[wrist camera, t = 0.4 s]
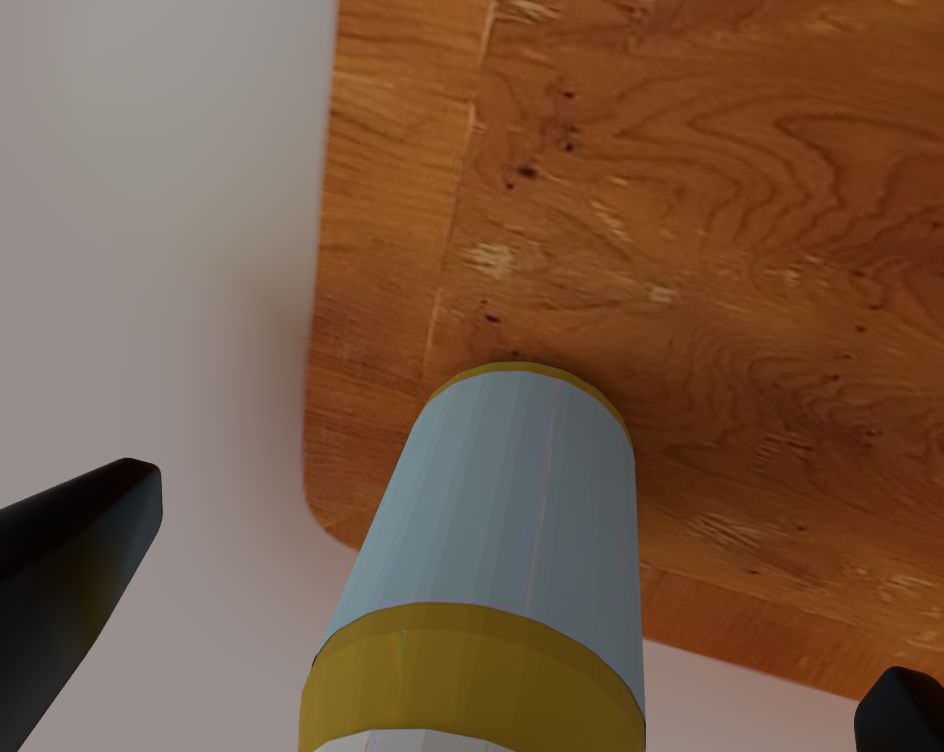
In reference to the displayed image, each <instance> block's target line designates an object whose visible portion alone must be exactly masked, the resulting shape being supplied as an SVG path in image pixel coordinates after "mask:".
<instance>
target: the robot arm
mask: <svg viewBox="0 0 944 752" xmlns="http://www.w3.org/2000/svg"><path fill="white" fill-rule="evenodd" d="M162 516H163V507H162V483H161V472H160V470H159V468H158V467H157V466H156V465H154V464H152V463H148V462H144V461H141V460H137V459H133V458H122V459H119V460H116V461H114V462H112V463H109V464H107V465H104V466H102V467H100V468H97V469H95V470H92V471H90V472H88V473H85V474H83V475H81V476H78V477H76V478H74V479H71V480H69V481H67V482H64V483H62V484H59V485H57V486H55V487H52V488H50V489H48V490H45V491H43V492H40V493H38V494H35V495H33V496H31V497H29V498H26V499H24V500H22V501H19V502H17V503H14V504H12V505H9V506H7V507H5V508H2V509H0V752H17V751H18V750H19V749H20V747H21V746H22V744H23V743H24V742H25V740H26V739H27V737H28V736H29V734H30V733H31V732H32V730H33V729H34V728H35V726H36V725H37V723H38V722H39V721H40V719H41V718H42V716H43V715H44V714H45V712H46V711H47V709H48V708H49V707H50V705H51V704H52V702H53V701H54V700H55V698H56V697H57V695H58V694H59V693H60V691H61V690H62V688H63V687H64V686H65V684H66V683H67V681H68V680H69V679H70V677H71V676H72V674H73V673H74V671H75V670H76V669H77V667H78V666H79V664H80V663H81V662H82V660H83V659H84V658H85V656H86V655H87V653H88V651H89V650H90V648H91V647H92V646H93V644H94V643H95V641H96V640H97V638H98V636H99V635H100V633H101V631H102V629H103V628H104V626H105V625H106V623H107V621H108V619H109V617H110V616H111V614H112V612H113V611H114V609H115V607H116V605H117V603H118V601H119V600H120V598H121V596H122V595H123V593H124V591H125V589H126V588H127V586H128V584H129V582H130V580H131V579H132V577H133V575H134V573H135V572H136V570H137V568H138V566H139V565H140V563H141V561H142V559H143V558H144V556H145V554H146V552H147V551H148V549H149V547H150V545H151V543H152V542H153V540H154V538H155V536H156V535H157V533H158V530H159V528H160V525H161V521H162ZM854 731H855V740H856V749H857V752H944V688H943V687H942V686H941V685H940V684H939V683H938V682H937V681H936V680H935V679H934V678H933V677H931V676H930V675H928V674H925V673H922V672H918V671H915V670H911V669H907V668H904V667H900V666H893V667H891V668H889V669H887V670H886V671H885V672H884V673H883V674H882V676H881V677H880V678H879V679H878V681H877V682H876V683H875V684H874V686H873V687H872V688H871V689H870V691H869V692H868V693H867V695H866V696H865V697H864V698H863V700H862V701H861V702H860V704H859V705H858V707H857V710H856V713H855V717H854Z"/></svg>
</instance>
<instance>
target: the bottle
mask: <svg viewBox="0 0 944 752" xmlns="http://www.w3.org/2000/svg"><path fill="white" fill-rule="evenodd" d="M645 750H646V722H645V697H644V673H643V647H642V622H641V598H640V573H639V549H638V524H637V500H636V475H635V458H634V449H633V443H632V439H631V437H630V434H629V432H628V429H627V427H626V425H625V422H624V420H623V418H622V416H621V415H620V413H619V412H618V411H617V409H616V408H615V407H614V406H613V405H612V404H611V403H610V402H609V401H608V400H607V398H606V397H605V396H604V395H603V394H602V393H601V392H600V391H599V390H597V389H596V388H595V387H593V386H592V385H590V384H588V383H587V382H585V381H583V380H581V379H580V378H578V377H576V376H575V375H573V374H571V373H569V372H566V371H564V370H562V369H558V368H554V367H550V366H546V365H542V364H538V363H534V362H525V361H521V362H495V363H488V364H485V365H482V366H479V367H476V368H473V369H470V370H466V371H463V372H462V373H460V374H458V375H456V376H454V377H453V378H452V379H450V380H449V381H447V382H446V383H445V384H443V385H442V386H441V387H439V388H438V389H437V390H436V391H435V392H434V393H433V394H432V395H431V397H430V398H429V400H428V401H427V403H426V404H425V406H424V407H423V409H422V410H421V412H420V414H419V416H418V419H417V420H416V422H415V424H414V426H413V428H412V431H411V433H410V435H409V438H408V440H407V442H406V445H405V447H404V449H403V452H402V454H401V456H400V459H399V461H398V464H397V466H396V468H395V471H394V473H393V475H392V478H391V480H390V482H389V485H388V487H387V489H386V492H385V494H384V496H383V499H382V501H381V504H380V506H379V508H378V511H377V513H376V515H375V518H374V520H373V522H372V525H371V527H370V529H369V532H368V534H367V536H366V539H365V541H364V544H363V546H362V548H361V551H360V553H359V555H358V558H357V560H356V563H355V565H354V567H353V570H352V572H351V574H350V577H349V579H348V581H347V583H346V586H345V588H344V591H343V593H342V595H341V598H340V600H339V603H338V605H337V607H336V609H335V612H334V614H333V616H332V619H331V621H330V623H329V626H328V628H327V631H326V633H325V635H324V638H323V640H322V642H321V645H320V647H319V650H318V652H317V654H316V656H315V659H314V661H313V664H312V669H311V672H310V674H309V676H308V679H307V681H306V683H305V686H304V688H303V691H302V699H301V709H300V722H299V746H298V752H645Z"/></svg>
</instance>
